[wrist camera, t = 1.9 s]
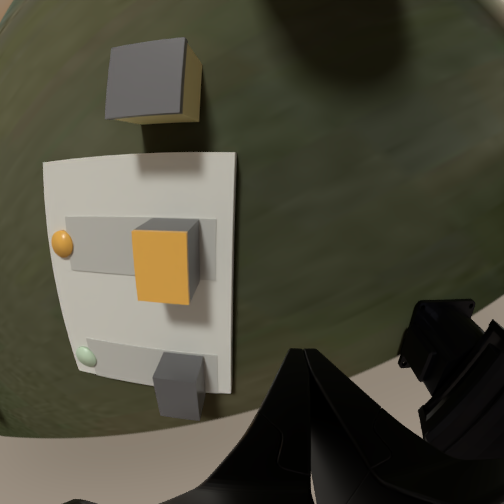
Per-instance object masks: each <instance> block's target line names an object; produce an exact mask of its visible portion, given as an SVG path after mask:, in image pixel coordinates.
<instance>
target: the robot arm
mask: <svg viewBox="0 0 504 504" xmlns="http://www.w3.org/2000/svg"><path fill="white" fill-rule="evenodd" d="M469 305H470V306H469ZM421 306H423V307H422V308H421ZM474 307H475V302H474V301H473V300H472V299H453V300H421V301H419V302H418V303H417V304H416V306H415V310H414V314H413V317H412V321H411V324H410V326H409V328H408V331H407V335H406V338H405V341H404V344H403V347H402V350H401V355H400V358H399V361H398V364H399V366H400V367H401V368H409V367H411V369H412V370H413V372H414V374H415V375H416V377H417V379H418V380H419V381H420V382H424V384H425V385H426V387H427V389H428V391H429V392H430V394H431V396H432V398H431V399H430V400H429V401H428V402H427V403H426V404H425V405H422V406H421V408H420V409H419V410H418V413H419V417H420V423H421V429H422V434H423V439H422V438H421V437H419V436H418V435H416V434H415V433H413V432H412V431H411V430H409V429H408V428H406V427H405V426H404V425H402V424H401V423H400V422H399V421H397V420H396V419H395V418H394V417H392V416H391V415H390V414H389V413H387V411H385V410H384V409H383V408H381V406H379V405H378V404H377V403H376V402H375V401H374V400H372V398H370V397H369V396H368V395H367V394H366V393H365V392H364V391H362V390H361V389H360V388H359V387H358V386H357V385H356V384H355V383H354V382H352V381H351V380H350V379H349V378H348V377H347V376H346V375H345V374H344V373H342V372H341V371H340V370H339V369H338V368H337V367H336V366H335V365H334V364H333V363H331V362H330V361H329V360H328V359H327V358H326V357H325V356H324V355H323V354H322V353H320V352H319V351H318V350H317V349H303V350H302V349H297V348H290V349H289V350H288V352H287V354H286V356H285V358H284V360H283V363H282V365H281V367H280V369H279V371H278V373H277V375H276V377H275V379H274V381H273V383H272V385H271V387H270V389H269V391H268V393H267V395H266V397H265V399H264V400H263V402H262V404H261V406H260V408H259V410H258V412H257V414H256V415H255V417H254V419H253V421H252V423H251V424H250V426H249V428H248V429H247V431H246V433H245V434H244V436H243V437H242V438H241V440H240V441H239V442H238V444H237V445H236V446H235V447H234V449H233V450H232V451H231V452H230V453H229V455H228V456H227V457H226V458H225V459H224V460H223V462H222V463H221V464H220V465H219V466H218V467H217V469H216V470H215V471H214V472H213V473H212V474H211V475H210V476H209V477H208V479H206V480H205V481H204V482H203V483H202V484H200V485H199V486H198V487H196V488H195V489H193V490H191V491H188V492H186V493H184V494H182V495H179V496H177V497H175V498H172V499H170V500H167V501H165V502H162V503H160V504H314V501H313V498H312V494H311V478H310V477H311V474H312V479H313V485H314V491H315V496H316V502H317V504H504V328H503V327H502V326H500V325H499V324H498V323H497V322H495V321H494V320H493V319H492V321H491V322H490V324H489V327H488V329H487V330H486V332H484V331H483V330H482V329H481V328H480V327H479V326H478V325H477V324H476V323H475V322H474V321H473V320H472V319H471V316H472V313H473V310H474ZM420 308H421V309H420ZM403 362H404V363H403ZM63 504H96V503H93V502H90V501H86V500H81V499H73V500H71V501H68V502H66V503H63Z"/></svg>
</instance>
